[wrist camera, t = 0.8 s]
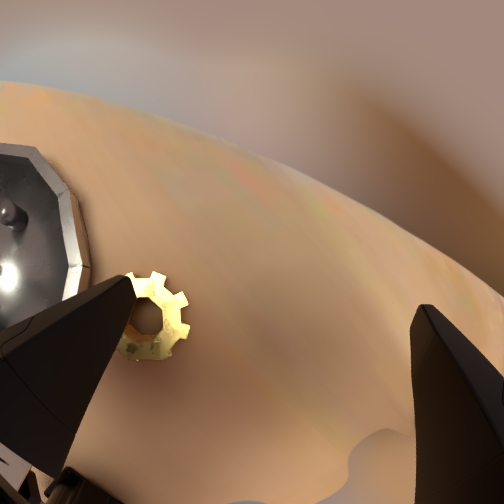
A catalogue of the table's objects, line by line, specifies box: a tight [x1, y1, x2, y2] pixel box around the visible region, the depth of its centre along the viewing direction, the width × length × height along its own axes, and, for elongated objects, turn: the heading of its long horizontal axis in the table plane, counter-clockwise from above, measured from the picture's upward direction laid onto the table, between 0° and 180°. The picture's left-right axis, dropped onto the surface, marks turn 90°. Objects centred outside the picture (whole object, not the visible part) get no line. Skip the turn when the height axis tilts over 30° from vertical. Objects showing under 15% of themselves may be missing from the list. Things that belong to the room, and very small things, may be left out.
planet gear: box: [116, 272, 190, 362], centre depth 18 cm, size 6×6×4 cm
